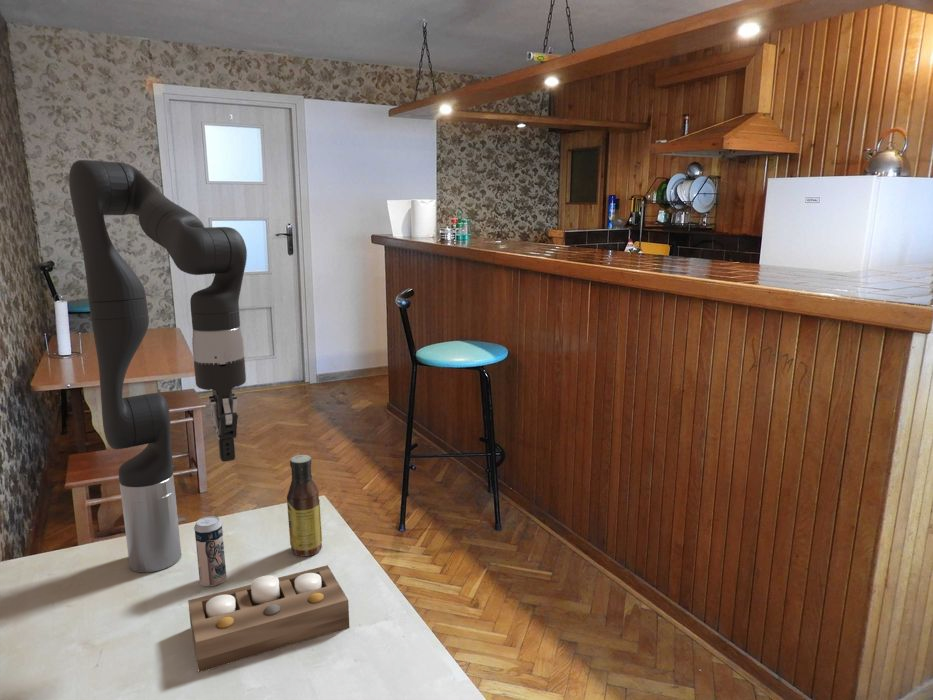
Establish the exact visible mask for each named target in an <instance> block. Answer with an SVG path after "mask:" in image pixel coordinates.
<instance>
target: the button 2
mask: <svg viewBox="0 0 933 700" xmlns="http://www.w3.org/2000/svg"><path fill="white" fill-rule="evenodd" d="M278 578H279V577H277V576H275V575H262V576H259V577H257V578H255V579H253V580H252V581H251V583H250V585H251V593H252V603H253V605H259V604H263V603H267V602H271V601H274V600H278V599H280V589H279V579H278Z"/></svg>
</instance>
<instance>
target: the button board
mask: <svg viewBox="0 0 933 700" xmlns="http://www.w3.org/2000/svg"><path fill="white" fill-rule="evenodd" d="M306 573H316V574H319V575H320V576H321V583H322V588H319V589H316V590H312V591H308V592H304V593H301V594H297V595H296V593H295V579H296V578H297V577H298V576H300V575H302V574H306ZM277 578H278V579H279V589H280V599H278V600H274V601H271V602H267V603H263V604H259V605H253V603H252V593H251V584H248V585H247V584H246V585H243V586H240V587H235V588H232V589H227V590H223V591H219V592H216V593H212V594H208V595H204V596H201V597H196V598H192V599H188V602H187V603H188V610H189V611H188V613H189V621H190V631H191V634H192V641H193V648H194V654H195V659H196V663H197V664H196V665H197V671H198V670H199V671H198V673H202V672H205V671H208V669H209V670H212V669H215V668H217V667H218V666H219V667H222V666H225V665H228V663H229V664H232V663H235V662H239V661H242V660H244V659H248V658H251V657H255V656H258V655H262V654H265V653H268V652H272V651H275V650H278V649H282V648H284V647H289V646H291V645H295V644H298V643H302V642H305V641H309V640H312V639H315V638H318V637H322V636H325V635H328V634H331V633H335V632H338V631H342V630H344V629H349V628H350V609H349V608H350V607H349V599H348V597H347V596H346V594H345V592H344V590H343V588H342V587H341V585H340V584H339V582H338V580H337V579H336V576H335V575H334V573H333V572H332V570H331V569H330V567H329V565H328V564H327V565H324V566H323V565H322V566H319V567H315V568H312V569H308V570H307V569H306V570H303V571H300V572H296V573H291V574H287V575H284V576H280V577H279V576H278V577H277ZM219 595H231V596H233V597H234V598H235V603H236V611H233V612H229V613H225V614H222V615H218V616H214V617H210V618H207V612H206V603H207V602H208V601H209V600H210V599H211V598H213V597H215V596H219ZM201 671H202V672H201Z"/></svg>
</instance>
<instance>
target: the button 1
mask: <svg viewBox="0 0 933 700" xmlns="http://www.w3.org/2000/svg"><path fill="white" fill-rule="evenodd" d="M233 611H236V603H235V598H234V597H233V596H231V595H219V596H215V597H213V598H211V599H210V600H209V601H208V602H207V603H206V612H207V618H210V617H214V616H218V615H222V614H225V613H229V612H233Z"/></svg>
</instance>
